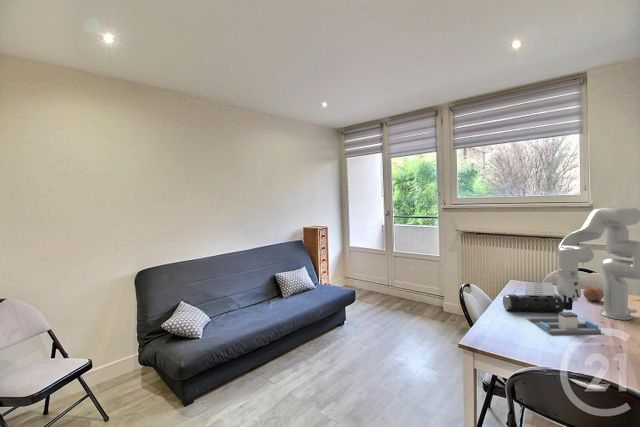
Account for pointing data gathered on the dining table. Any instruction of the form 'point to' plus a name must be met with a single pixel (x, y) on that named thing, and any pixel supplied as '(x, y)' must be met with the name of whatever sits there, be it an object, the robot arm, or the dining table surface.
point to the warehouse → (540, 289)
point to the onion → (593, 294)
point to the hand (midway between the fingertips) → (567, 309)
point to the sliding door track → (553, 329)
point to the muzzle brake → (533, 303)
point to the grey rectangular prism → (567, 320)
